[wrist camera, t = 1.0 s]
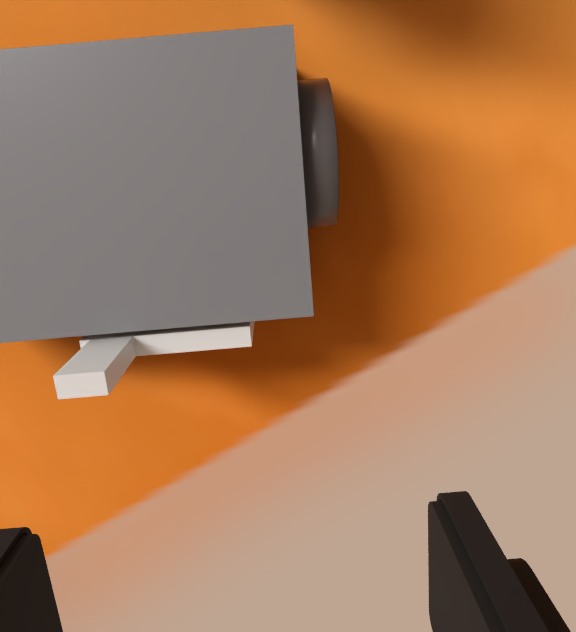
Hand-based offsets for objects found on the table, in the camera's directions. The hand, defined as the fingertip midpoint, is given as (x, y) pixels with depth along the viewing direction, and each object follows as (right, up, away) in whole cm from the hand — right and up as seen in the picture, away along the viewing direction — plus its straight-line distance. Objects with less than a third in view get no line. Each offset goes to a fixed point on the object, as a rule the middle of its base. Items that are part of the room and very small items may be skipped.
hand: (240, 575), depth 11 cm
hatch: (-5, +6, +22) cm, 23 cm away
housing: (-9, +13, +21) cm, 26 cm away
